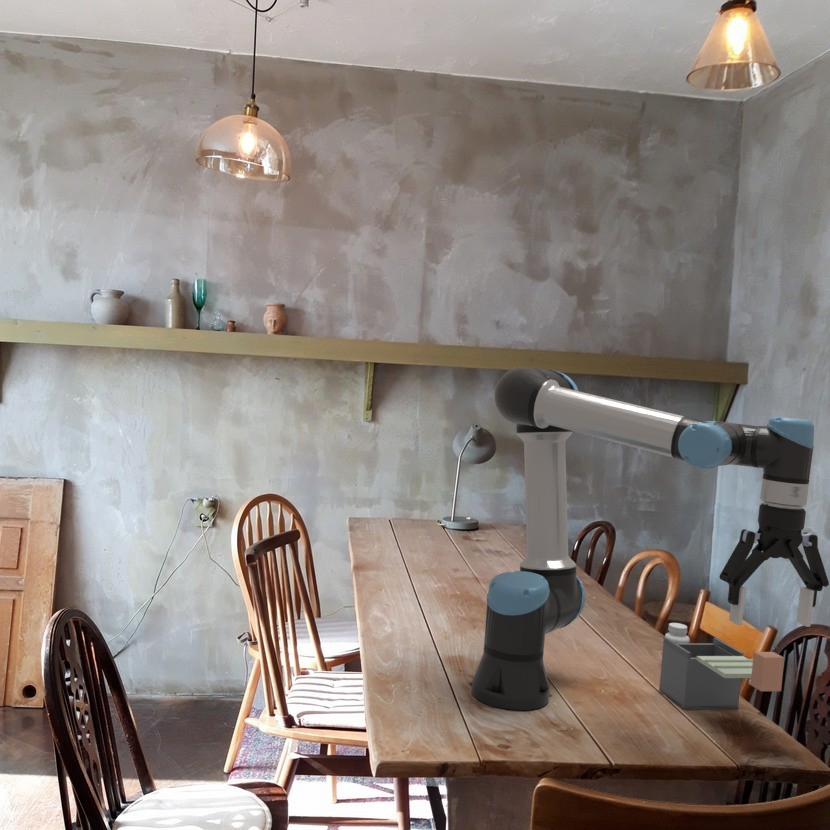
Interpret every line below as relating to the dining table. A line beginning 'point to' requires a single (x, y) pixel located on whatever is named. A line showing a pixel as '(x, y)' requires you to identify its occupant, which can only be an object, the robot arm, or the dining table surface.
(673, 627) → the pill bottle
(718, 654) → the tub
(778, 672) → the green and tan block
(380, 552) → the dining table surface
